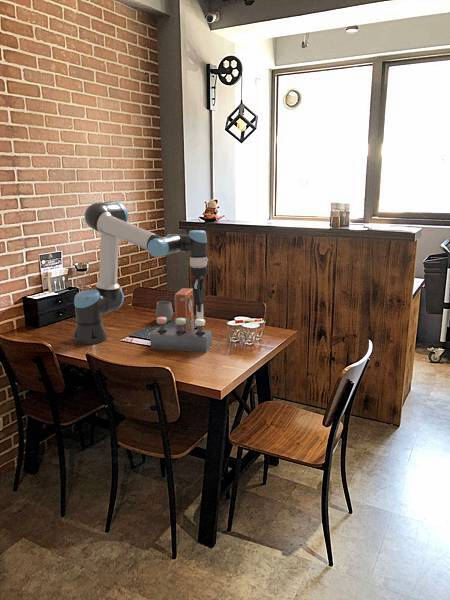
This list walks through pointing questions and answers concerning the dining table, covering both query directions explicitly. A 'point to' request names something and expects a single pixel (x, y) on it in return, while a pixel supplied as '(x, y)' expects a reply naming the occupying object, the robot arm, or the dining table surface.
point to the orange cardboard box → (185, 307)
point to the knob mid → (180, 325)
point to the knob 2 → (200, 325)
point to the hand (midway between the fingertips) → (200, 318)
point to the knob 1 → (161, 323)
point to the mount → (181, 340)
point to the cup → (164, 310)
